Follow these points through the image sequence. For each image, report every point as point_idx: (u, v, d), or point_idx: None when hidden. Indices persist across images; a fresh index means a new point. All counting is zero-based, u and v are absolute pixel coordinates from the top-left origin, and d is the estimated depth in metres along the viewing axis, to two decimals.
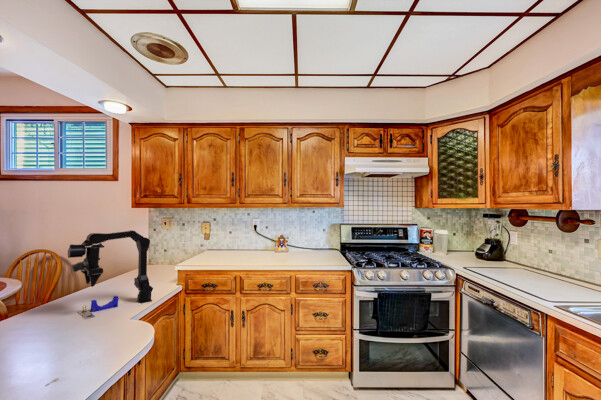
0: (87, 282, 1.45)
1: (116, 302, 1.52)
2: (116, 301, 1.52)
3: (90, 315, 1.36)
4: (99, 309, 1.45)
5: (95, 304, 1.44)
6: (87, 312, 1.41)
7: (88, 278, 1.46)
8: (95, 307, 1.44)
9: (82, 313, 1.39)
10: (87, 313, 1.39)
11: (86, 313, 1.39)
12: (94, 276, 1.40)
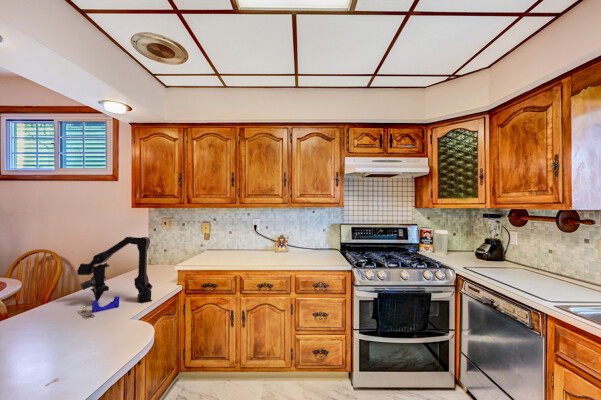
0: None
1: (117, 302, 1.51)
2: (117, 301, 1.51)
3: (90, 315, 1.36)
4: (100, 310, 1.44)
5: (96, 305, 1.43)
6: (87, 312, 1.41)
7: None
8: (96, 308, 1.43)
9: (82, 313, 1.39)
10: (87, 313, 1.39)
11: (86, 313, 1.39)
12: (98, 292, 1.57)
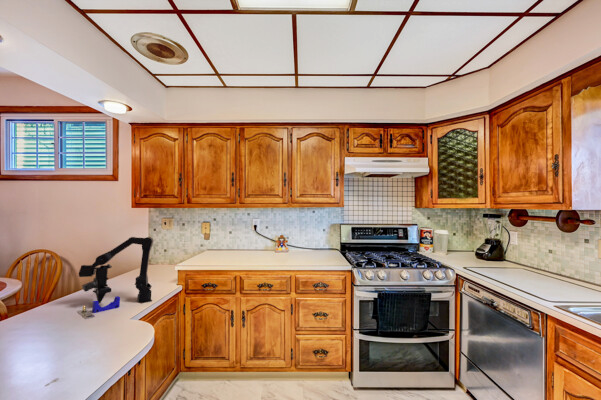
0: None
1: (118, 303, 1.51)
2: (118, 302, 1.51)
3: (90, 315, 1.36)
4: (101, 310, 1.44)
5: (97, 305, 1.42)
6: (87, 312, 1.41)
7: None
8: (97, 308, 1.42)
9: (82, 313, 1.39)
10: (87, 313, 1.39)
11: (86, 313, 1.39)
12: (101, 293, 1.54)
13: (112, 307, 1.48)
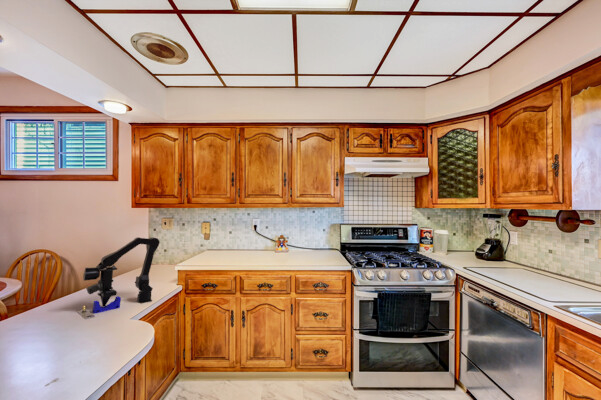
0: None
1: (118, 303, 1.50)
2: (118, 302, 1.50)
3: (90, 315, 1.36)
4: (101, 310, 1.43)
5: (98, 305, 1.42)
6: (87, 312, 1.41)
7: None
8: (98, 308, 1.42)
9: (82, 313, 1.39)
10: (87, 313, 1.39)
11: (86, 313, 1.39)
12: (105, 296, 1.48)
13: (112, 307, 1.48)
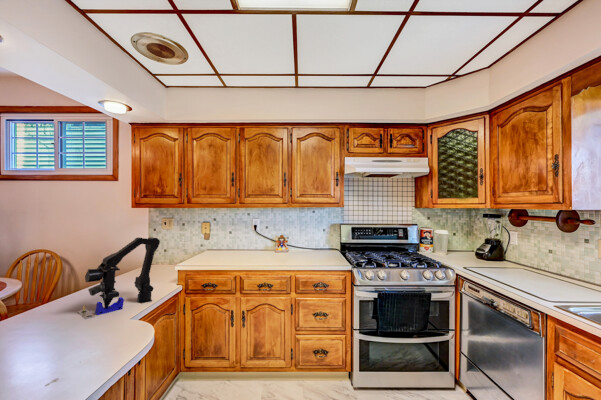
0: None
1: (121, 304, 1.48)
2: (121, 303, 1.48)
3: (90, 315, 1.36)
4: (104, 312, 1.41)
5: (101, 307, 1.39)
6: (87, 312, 1.41)
7: None
8: (101, 310, 1.39)
9: (82, 313, 1.39)
10: (87, 313, 1.39)
11: (86, 313, 1.39)
12: (108, 298, 1.46)
13: (115, 309, 1.46)
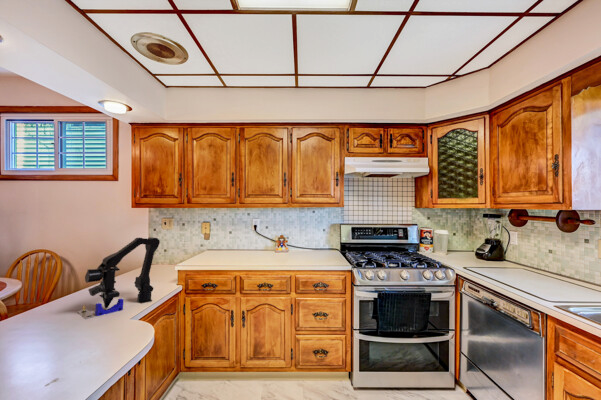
0: None
1: (121, 305, 1.46)
2: (121, 304, 1.46)
3: (90, 315, 1.36)
4: (104, 313, 1.40)
5: (100, 308, 1.38)
6: (87, 312, 1.41)
7: None
8: (100, 311, 1.38)
9: (82, 313, 1.39)
10: (87, 313, 1.39)
11: (86, 313, 1.39)
12: None
13: (115, 310, 1.44)
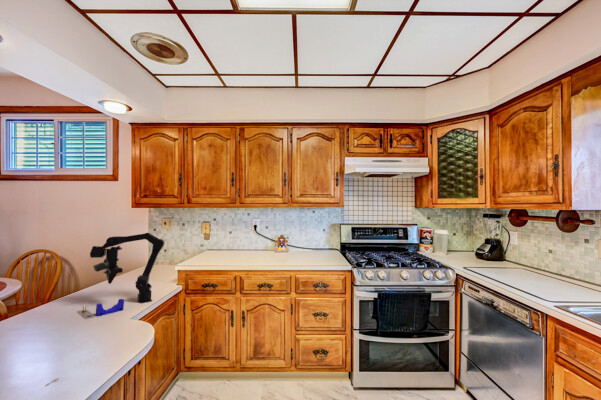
0: None
1: (122, 305, 1.46)
2: (122, 304, 1.46)
3: (90, 315, 1.36)
4: (105, 313, 1.39)
5: (101, 308, 1.38)
6: (87, 312, 1.41)
7: None
8: (101, 311, 1.38)
9: (82, 313, 1.39)
10: (87, 313, 1.39)
11: (86, 313, 1.39)
12: (111, 274, 1.58)
13: (116, 310, 1.44)
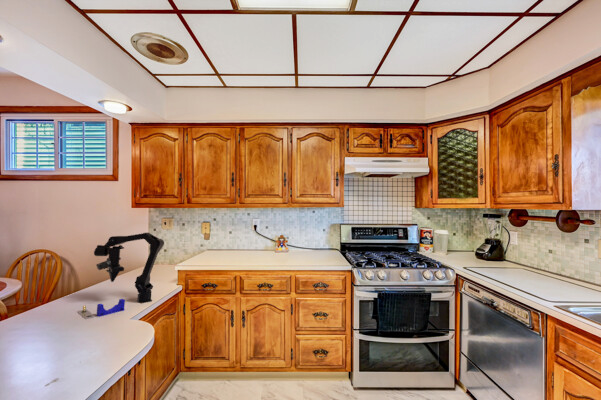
0: None
1: (122, 305, 1.46)
2: (122, 304, 1.46)
3: (90, 315, 1.36)
4: (106, 313, 1.39)
5: (102, 308, 1.37)
6: (87, 312, 1.41)
7: None
8: (102, 311, 1.37)
9: (82, 313, 1.39)
10: (87, 313, 1.39)
11: (86, 313, 1.39)
12: (114, 273, 1.62)
13: (117, 310, 1.44)
